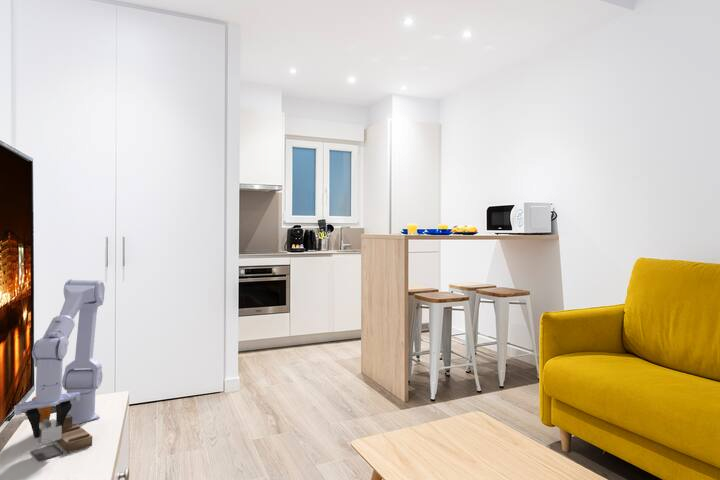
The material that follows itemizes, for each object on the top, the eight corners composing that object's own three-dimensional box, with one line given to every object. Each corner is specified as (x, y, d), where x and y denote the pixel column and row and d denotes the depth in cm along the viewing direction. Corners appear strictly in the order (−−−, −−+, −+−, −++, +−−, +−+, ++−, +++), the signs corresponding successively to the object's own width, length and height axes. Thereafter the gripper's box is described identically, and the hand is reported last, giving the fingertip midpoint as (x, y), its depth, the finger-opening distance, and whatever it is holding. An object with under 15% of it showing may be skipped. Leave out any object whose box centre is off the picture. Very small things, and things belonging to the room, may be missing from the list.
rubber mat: (30, 452, 120) (30, 451, 120) (54, 445, 124) (54, 444, 124) (38, 461, 115) (39, 460, 115) (63, 454, 119) (63, 452, 119)
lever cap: (34, 437, 119) (34, 421, 119) (53, 431, 123) (54, 416, 123) (41, 444, 116) (41, 428, 116) (61, 438, 119) (61, 422, 119)
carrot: (32, 432, 131) (34, 381, 131) (52, 429, 133) (54, 379, 133) (27, 439, 126) (29, 386, 126) (48, 437, 128) (50, 385, 128)
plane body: (52, 438, 128) (53, 417, 128) (76, 431, 132) (76, 411, 132) (67, 452, 120) (68, 430, 120) (92, 445, 125) (92, 423, 125)
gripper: (20, 393, 111) (18, 447, 111) (85, 380, 122) (83, 429, 122) (12, 386, 115) (10, 438, 116) (75, 374, 127) (73, 421, 127)
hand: (47, 433), depth 119 cm, fingers closed on lever cap, 4 cm apart
